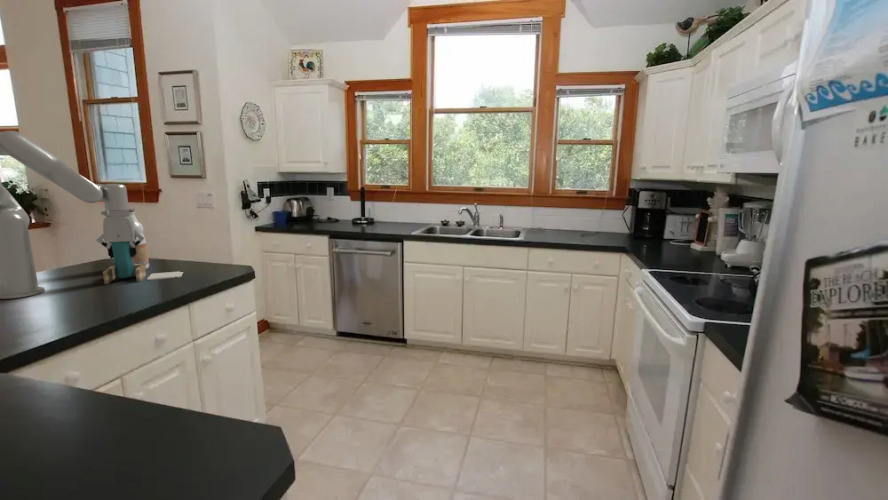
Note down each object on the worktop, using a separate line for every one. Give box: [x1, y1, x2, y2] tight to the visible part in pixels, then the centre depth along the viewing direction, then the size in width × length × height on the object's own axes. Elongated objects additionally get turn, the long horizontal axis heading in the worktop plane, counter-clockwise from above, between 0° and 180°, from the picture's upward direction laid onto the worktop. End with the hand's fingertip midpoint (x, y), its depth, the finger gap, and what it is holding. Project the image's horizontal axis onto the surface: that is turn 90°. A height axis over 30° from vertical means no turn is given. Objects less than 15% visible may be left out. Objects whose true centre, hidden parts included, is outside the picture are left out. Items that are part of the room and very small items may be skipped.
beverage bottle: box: [111, 235, 135, 278], centre depth 168 cm, size 6×7×20 cm
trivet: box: [146, 271, 184, 281], centre depth 176 cm, size 12×10×1 cm
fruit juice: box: [129, 208, 150, 269], centre depth 184 cm, size 9×9×28 cm
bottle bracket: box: [102, 264, 147, 285], centre depth 169 cm, size 12×12×5 cm
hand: (123, 256), depth 168 cm, fingers closed on beverage bottle, 6 cm apart
